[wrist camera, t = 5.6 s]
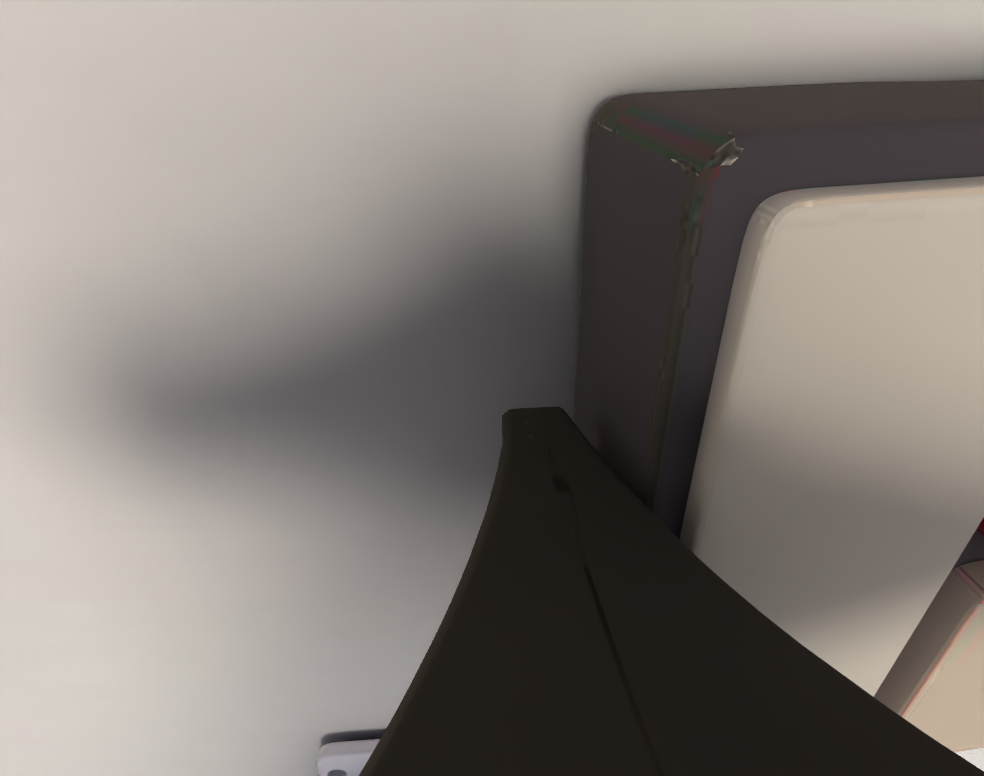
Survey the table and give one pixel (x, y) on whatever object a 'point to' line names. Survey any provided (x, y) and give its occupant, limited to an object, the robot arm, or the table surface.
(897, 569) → the calculator
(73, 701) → the table surface
